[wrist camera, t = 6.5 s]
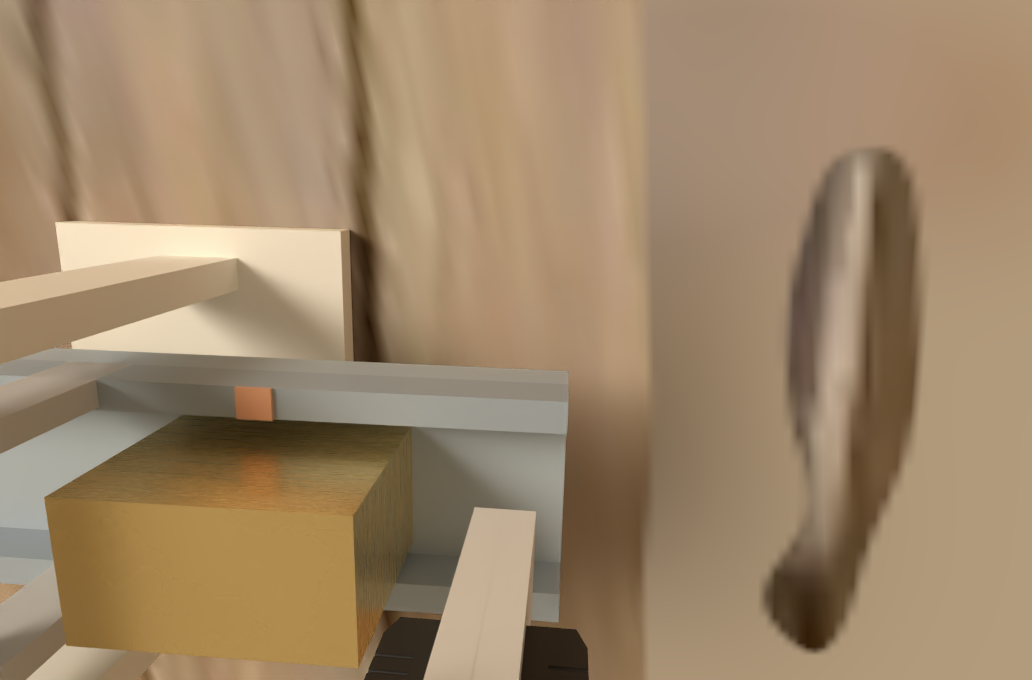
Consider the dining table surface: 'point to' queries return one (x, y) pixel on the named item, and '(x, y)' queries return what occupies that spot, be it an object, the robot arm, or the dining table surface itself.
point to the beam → (267, 396)
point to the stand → (180, 319)
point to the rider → (236, 540)
